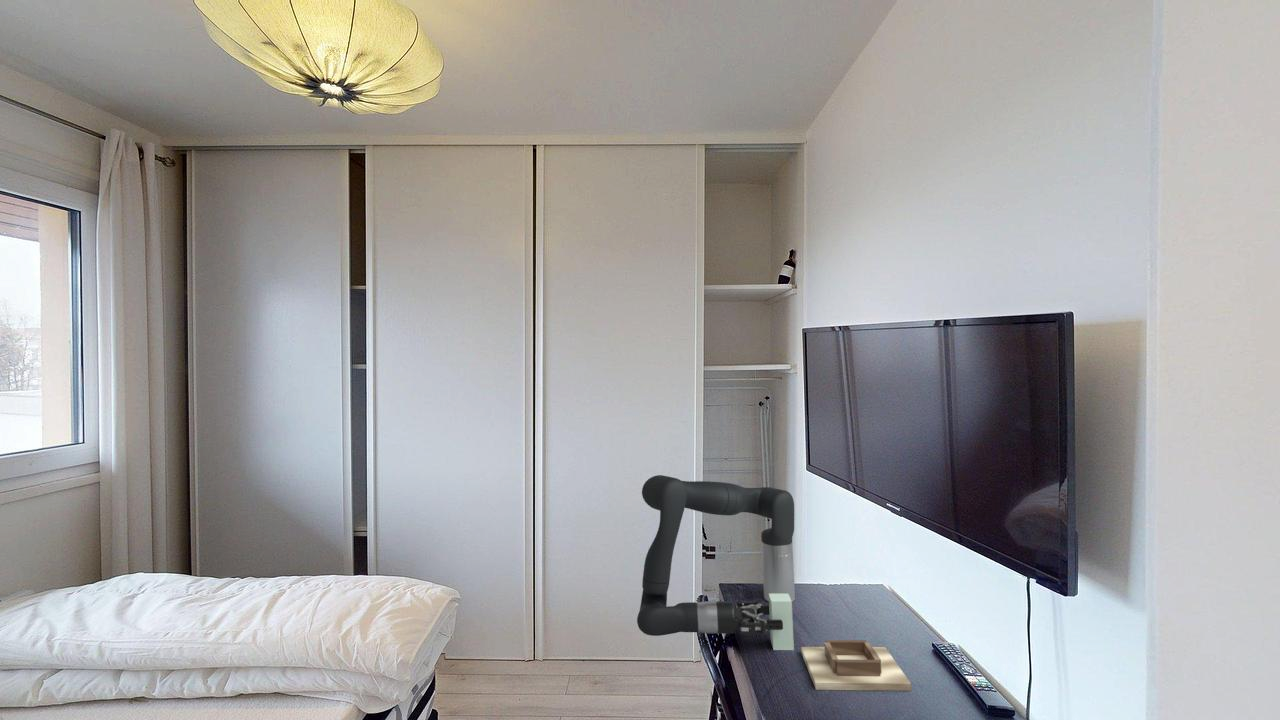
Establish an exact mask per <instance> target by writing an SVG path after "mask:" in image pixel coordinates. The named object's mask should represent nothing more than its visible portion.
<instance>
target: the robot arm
mask: <svg viewBox="0 0 1280 720" xmlns="http://www.w3.org/2000/svg"><path fill="white" fill-rule="evenodd" d="M641 495H642V499H643V501H644V502H645V504H646V505H648V506H649V507H650V508H652V509H654V510H656V511H659V525H658V529H657V532H656V534H655V537H654V539H653V541H652V543H651V544H650V547H649V548H648V551H647V553H646V554H645V555H646V556H645V560H644V564H643V573H642V580H641V581H642V585H641V587H642V593H641V599H640V607H639V612H638V614H637V618H636V623H637V626H638V629H639V630H640V631H641V632H642V633H643V634H645V635H647V636H652V637H658V636H659V637H660V636H666V635H671V634H677V633H702V634H735V633H736V628H740V634H741V635H750V636H751V635H752V636H753V635H754V636H755V635H757V636H765V635H767V633H766V632H768V631H770V630H782V629H783V622H782V620H770V619H764V618H762V617H760V616H762V615H763V616H770V614H769V604H768V605H767V604H765V605H763V604H762V603H760V601H758V600H746V601H744V600H742V601H736V607H735V603H734V602H733V601H731V600H727V601H725V600H717V601H716V600H715V601H714V600H711V601H710V600H707V601H698V602H697V601H696V602H692V601H691V602H679V603H677V604H675V605H673V606H671V605H669V606H667V602H668V601H667V600H668V590H669V586H670V579H671V570H672V562H673V555H674V551H675V550H674V549H675V546H676V542H677V538H678V535H679V532H680V531H679V530H680V526H681V524H682V520H683V515H684V512H685V509H688V510H693V511H696V512H700V513H705V514H709V515H715V516H716V515H717V516H734V515H735V516H736V515H738V514H740V513H750V514H753V515H757V516H759V517H760V516H761V517H764V518H767V519H771V527H770V528H767V529H766V528H765V529H764V530H762V531H761V536H760V537H761V555H762V556H761V559H762V560H761V561H762V582H763V583H762V584H763V599H764V600H765V601H767V602H769V594H789V596H790V599H791V601H792V603H793V602H794V601H795V600H796V598H795V597H796V594H795V593H796V592H795V591H796V590H795V571H794V569H795V568H794V567H795V566H794V548H793V546H794V545H793V536H794V532H795V501H794V497H793V496H792V494H791V492H789V491H787V490H785V489H779V488H774V487H769V486H768V487H767V486H766V487H765V486H763V487H744V486H741V485H739V484H734V483H729V482H723V481H722V482H721V481H710V480H709V481H703V480H702V481H700V480H699V481H697V480H695V481H693V480H690V481H689V480H687V481H686V480H681V479H679V478H677V477H672V476H667V475H662V474H657V475H654V476H651V477H649V478H648V479H647V480H645V482H644V484H643V485H642V489H641Z"/></svg>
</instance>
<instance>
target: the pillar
mask: <svg viewBox="0 0 1280 720" xmlns="http://www.w3.org/2000/svg"><path fill="white" fill-rule="evenodd" d="M768 605H769V614H770V615H769V620H782V622H783V629H782V630H769V631H770V643H771V646H772V648H773V649H772V650H773V651H795V648H794V647H795V645H794V644H795V642H794V641H795V640H794V622H793V619H794V618H793V602H792V601H791V599H790V596H789V594H769V601H768Z"/></svg>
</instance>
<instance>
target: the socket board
mask: <svg viewBox="0 0 1280 720" xmlns="http://www.w3.org/2000/svg"><path fill="white" fill-rule="evenodd" d="M823 644H824V646H800V650H801V651H800V653H801V656H802V658H803V661H804V663H805V666H806V669H807V671H808V673H809V676H810V678H811V681H812V683H813V686H814V688H815V691H816V690H817V691H821V690H822V691H889V692H890V691H893V692H895V691H900V692H905V691H906V692H909V691H910V692H912V683H911V681H910V680H909V679H908V677H907V676H906V674H905V673H904V671H903V670H902V669H901V668H900V666H899V664H898V663H897V662H896V660H895V659H894V658H893V656H892V655H891V653H890V651H888V649H887V648H886V647H885V646H883V647H882V646H878V647H877V646H872V644H871V643H870V642H867V641H866V639H826V640H825V641H824V643H823Z"/></svg>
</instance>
